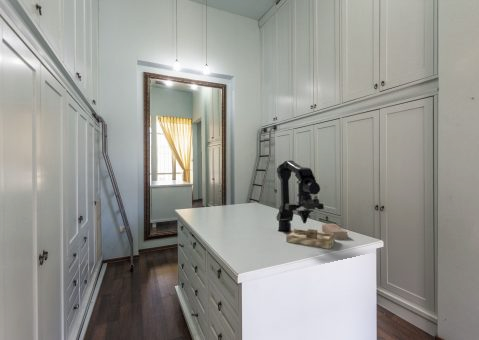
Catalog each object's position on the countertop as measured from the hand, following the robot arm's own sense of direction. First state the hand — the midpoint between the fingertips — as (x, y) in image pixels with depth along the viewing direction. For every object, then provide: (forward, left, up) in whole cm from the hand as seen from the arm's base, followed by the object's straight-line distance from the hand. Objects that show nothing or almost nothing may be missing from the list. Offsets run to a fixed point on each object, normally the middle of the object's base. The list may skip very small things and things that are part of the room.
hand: (304, 223), depth 118 cm
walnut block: (+3, +3, -8) cm, 9 cm away
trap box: (+2, +6, -11) cm, 12 cm away
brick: (+10, +25, -11) cm, 29 cm away
